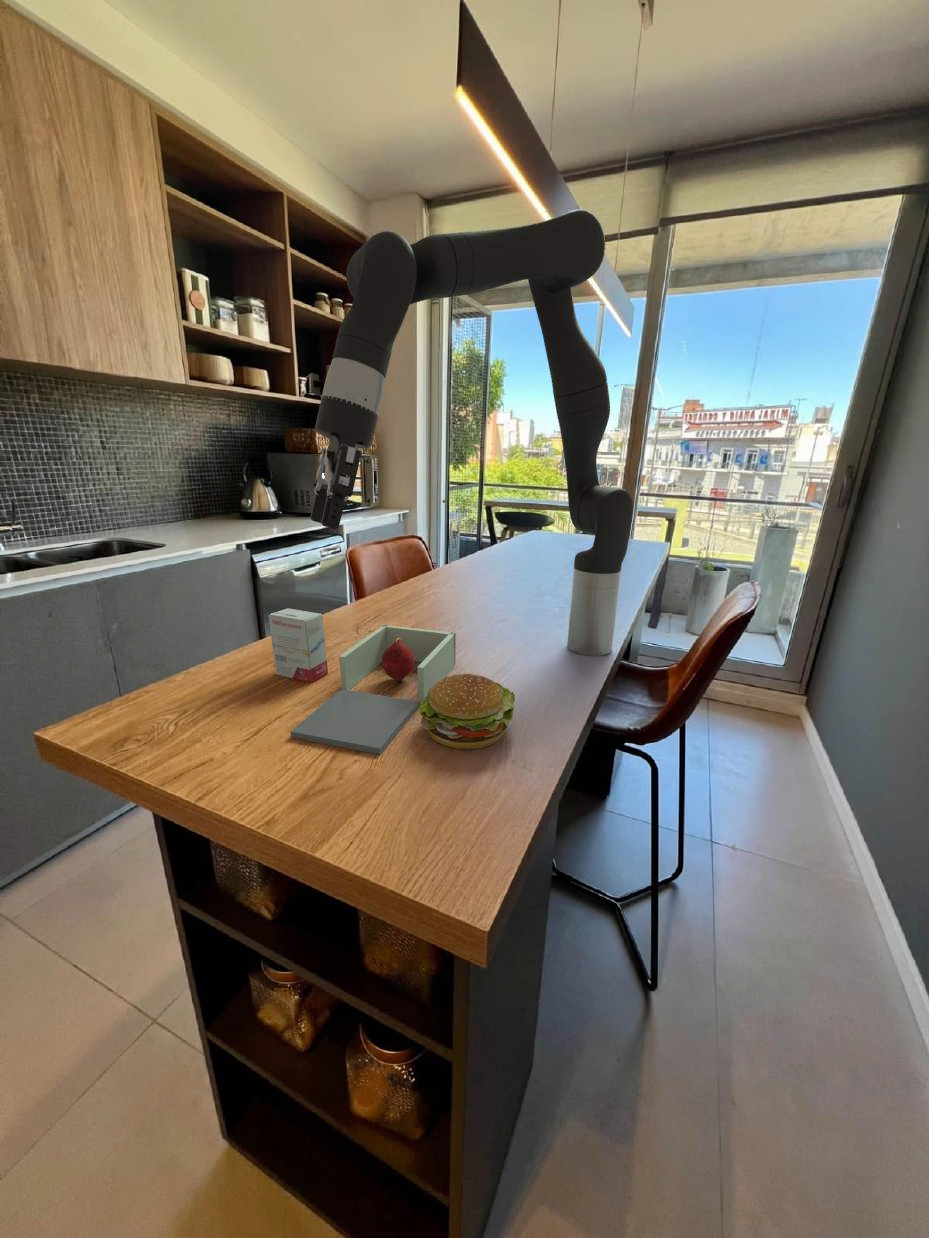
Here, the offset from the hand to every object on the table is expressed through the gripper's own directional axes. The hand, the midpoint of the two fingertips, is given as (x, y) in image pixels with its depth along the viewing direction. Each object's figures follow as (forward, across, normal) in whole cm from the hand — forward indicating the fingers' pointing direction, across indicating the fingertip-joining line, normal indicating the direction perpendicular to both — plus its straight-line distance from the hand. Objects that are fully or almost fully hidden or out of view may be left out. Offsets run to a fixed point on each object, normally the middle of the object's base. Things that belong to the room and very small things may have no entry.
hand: (323, 524), depth 67 cm
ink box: (+28, +18, -6) cm, 34 cm away
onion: (+24, +8, -21) cm, 33 cm away
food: (+24, -12, -25) cm, 36 cm away
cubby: (+24, +9, -21) cm, 33 cm away
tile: (+27, -3, -11) cm, 30 cm away
